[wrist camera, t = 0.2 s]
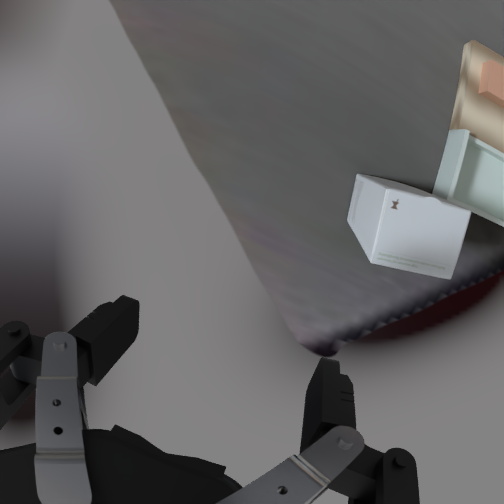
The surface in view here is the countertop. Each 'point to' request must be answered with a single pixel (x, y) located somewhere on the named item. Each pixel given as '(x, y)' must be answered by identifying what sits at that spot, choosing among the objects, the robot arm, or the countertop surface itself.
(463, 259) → the countertop surface
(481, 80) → the tile
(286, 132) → the countertop surface
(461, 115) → the board
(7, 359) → the robot arm
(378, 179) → the skincare box
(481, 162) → the box
